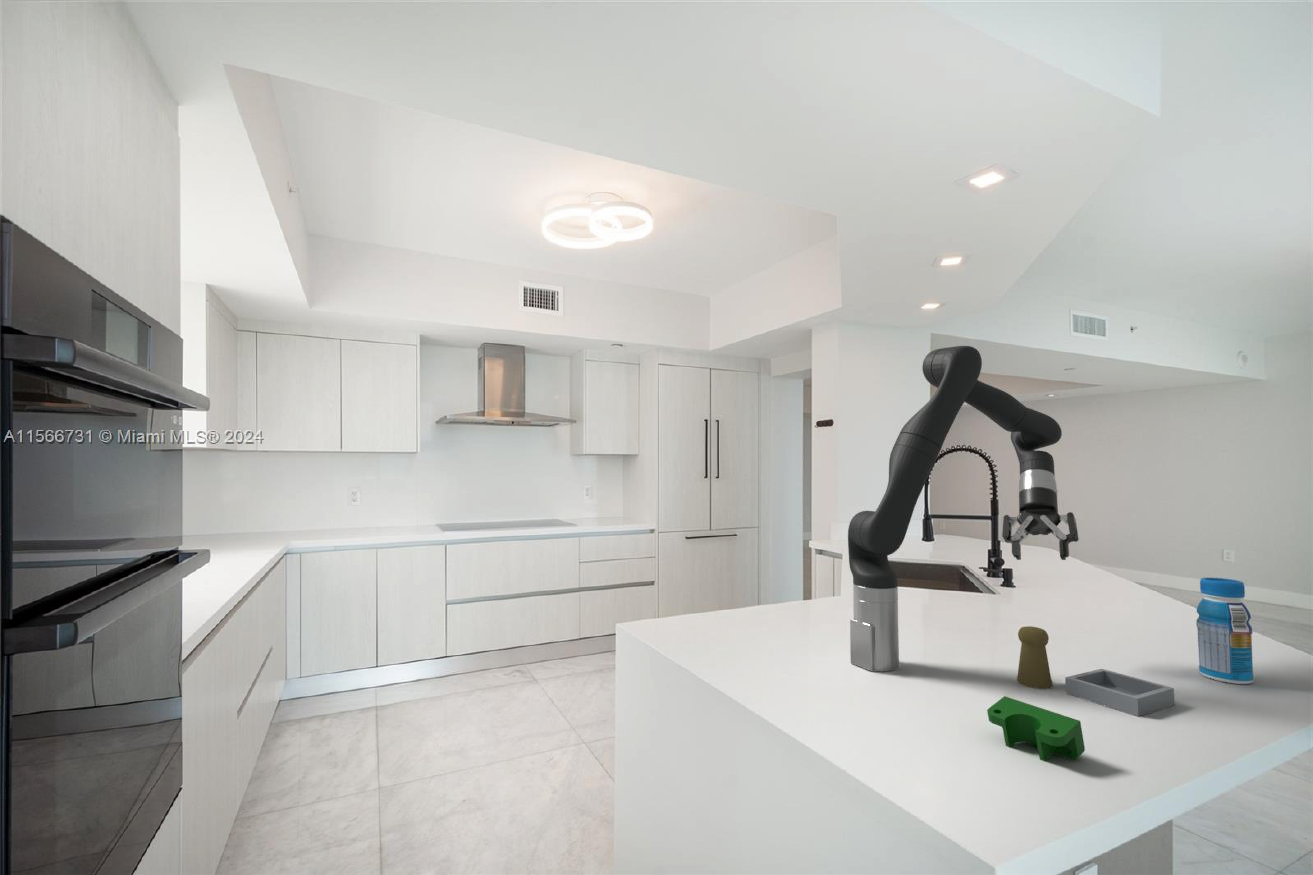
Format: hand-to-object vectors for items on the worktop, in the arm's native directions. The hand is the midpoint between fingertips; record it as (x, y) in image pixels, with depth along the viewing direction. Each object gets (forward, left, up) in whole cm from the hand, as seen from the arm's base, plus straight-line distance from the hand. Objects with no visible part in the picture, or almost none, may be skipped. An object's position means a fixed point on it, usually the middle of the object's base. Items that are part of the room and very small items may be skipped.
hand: (1040, 558), depth 133 cm
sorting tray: (-6, -18, -23) cm, 30 cm away
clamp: (-41, -24, -24) cm, 53 cm away
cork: (-12, -6, -23) cm, 27 cm away
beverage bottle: (+27, -21, -23) cm, 41 cm away
